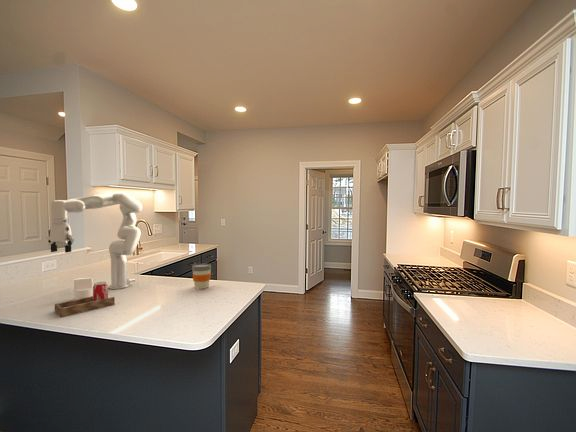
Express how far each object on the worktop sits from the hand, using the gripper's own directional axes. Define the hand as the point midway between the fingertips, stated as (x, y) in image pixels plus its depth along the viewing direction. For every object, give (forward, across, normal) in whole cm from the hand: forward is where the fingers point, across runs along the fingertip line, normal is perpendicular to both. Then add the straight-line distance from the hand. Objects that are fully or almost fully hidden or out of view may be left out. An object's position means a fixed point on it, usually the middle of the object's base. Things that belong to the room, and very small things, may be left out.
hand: (61, 251), depth 158 cm
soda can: (+29, -24, -1) cm, 38 cm away
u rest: (+29, -21, +5) cm, 36 cm away
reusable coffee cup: (+30, -63, -44) cm, 82 cm away
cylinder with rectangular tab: (+29, -5, -8) cm, 31 cm away
